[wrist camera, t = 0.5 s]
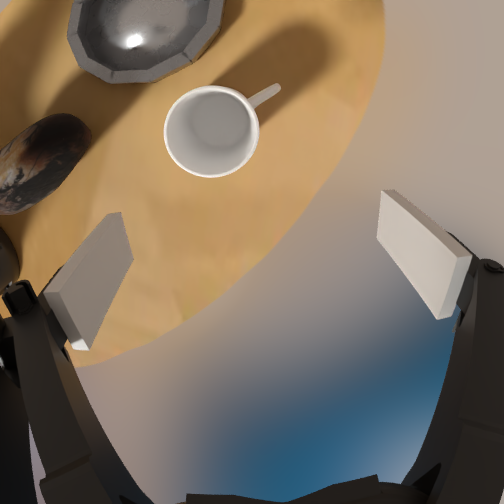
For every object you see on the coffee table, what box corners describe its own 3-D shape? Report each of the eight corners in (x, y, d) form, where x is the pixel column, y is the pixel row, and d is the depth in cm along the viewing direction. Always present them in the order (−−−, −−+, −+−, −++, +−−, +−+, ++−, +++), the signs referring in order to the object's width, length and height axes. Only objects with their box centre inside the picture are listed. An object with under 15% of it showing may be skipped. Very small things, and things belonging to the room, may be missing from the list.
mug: (258, 62, 30) (268, 47, 20) (290, 122, 34) (314, 135, 24) (171, 109, 33) (142, 117, 22) (206, 165, 37) (193, 197, 26)
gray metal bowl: (72, 87, 29) (61, 88, 27) (93, -34, 20) (84, -41, 17) (213, 84, 31) (211, 83, 29) (234, -45, 22) (234, -55, 19)
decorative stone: (42, 204, 37) (-16, 253, 24) (15, 158, 33) (-50, 194, 20) (125, 139, 34) (67, 169, 21) (94, 85, 30) (24, 90, 17)
